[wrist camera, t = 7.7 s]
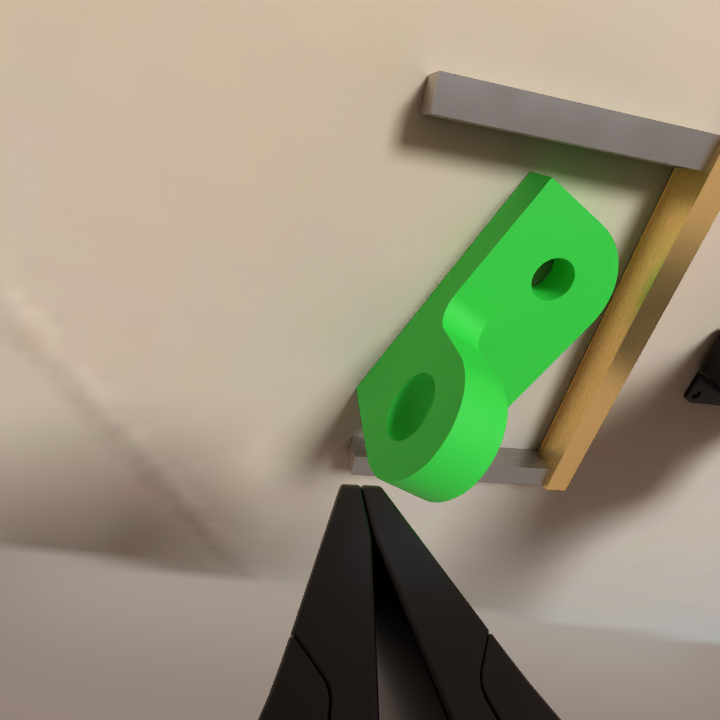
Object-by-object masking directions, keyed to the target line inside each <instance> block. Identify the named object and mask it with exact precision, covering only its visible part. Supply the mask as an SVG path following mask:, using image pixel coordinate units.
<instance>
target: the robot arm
mask: <svg viewBox="0 0 720 720" xmlns="http://www.w3.org/2000/svg"><path fill="white" fill-rule="evenodd" d="M696 391H698V392H697V394H696V395H694V396H692V394H693V393H694V392H696ZM684 398H685V399H686V400H687V401H689V402H692V403H702V404H712V405H720V338H719V340H718V341H717V343H716V345H715V346H714V348H713V349H712V351H711V352H710V354H709V356H708V357H707V359H706V360H705V362H704V363H703V365H702V367H701V368H700V370H699V371H698V373H697V374H696V376H695V377H694V379H693V381H692V382H691V384H690V385H689V387H688V388H687V390H686V392H685V394H684ZM488 633H489V631H488V629H487V628H486V626H485V625H484V623H483V622H482V621H481V619H480V618H479V617H478V615H477V614H476V613H475V611H474V610H473V609H472V607H471V606H470V605H469V603H468V602H467V601H466V599H465V598H464V597H463V595H462V594H461V593H460V591H459V590H458V589H457V587H456V586H455V585H454V583H453V582H452V581H451V579H450V578H449V577H448V575H447V574H446V573H445V571H444V570H443V569H442V567H441V566H440V565H439V563H438V562H437V561H436V559H435V558H434V557H433V555H432V554H431V553H430V551H429V550H428V549H427V547H426V546H425V545H424V543H423V542H422V541H421V539H420V538H419V537H418V535H417V534H416V533H415V531H414V530H413V529H412V527H411V526H410V525H409V523H408V522H407V521H406V519H405V518H404V517H403V515H402V514H401V513H400V511H399V510H398V509H397V507H396V506H395V505H394V503H393V502H392V501H391V499H390V498H389V497H388V495H387V494H386V493H385V491H384V490H383V489H382V488H381V487H379V486H369V485H363V486H361V488H360V486H359V485H349V484H342V485H341V486H340V488H339V491H338V494H337V497H336V500H335V503H334V506H333V509H332V512H331V515H330V518H329V521H328V524H327V527H326V530H325V533H324V536H323V539H322V542H321V545H320V548H319V551H318V554H317V557H316V560H315V563H314V566H313V569H312V572H311V575H310V578H309V581H308V584H307V587H306V590H305V593H304V596H303V599H302V602H301V605H300V608H299V611H298V614H297V617H296V620H295V623H294V626H293V629H292V632H291V636H290V638H289V640H288V643H287V646H286V649H285V652H284V655H283V658H282V661H281V663H280V666H279V669H278V672H277V674H276V677H275V680H274V682H273V685H272V688H271V690H270V693H269V696H268V698H267V700H266V703H265V705H264V707H263V709H262V712H261V714H260V716H259V719H258V720H561V719H560V718H559V717H558V716H557V714H556V713H555V712H554V711H553V710H552V709H551V708H550V706H549V705H548V704H547V703H546V702H545V701H544V699H543V698H542V697H541V696H540V695H539V694H538V692H537V691H536V690H535V689H534V688H533V686H532V685H531V684H530V683H529V681H528V680H527V679H526V678H525V676H524V675H523V674H522V673H521V671H520V670H519V669H518V668H517V666H516V665H515V664H514V662H513V661H512V660H511V659H510V657H509V656H508V655H507V654H506V652H505V651H504V650H503V648H502V647H501V646H500V644H499V643H498V642H497V640H496V639H495V638H494V636H493V635H492V634H488Z"/></svg>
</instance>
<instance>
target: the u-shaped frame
mask: <svg viewBox="0 0 720 720" xmlns="http://www.w3.org/2000/svg"><path fill="white" fill-rule="evenodd" d="M420 114H423V115H428V116H433V117H438V118H442V119H447V120H452V121H457V122H461V123H466V124H471V125H476V126H480V127H485V128H490V129H495V130H499V131H504V132H509V133H514V134H518V135H523V136H528V137H533V138H537V139H542V140H547V141H552V142H557V143H561V144H566V145H571V146H576V147H580V148H585V149H590V150H595V151H599V152H604V153H609V154H614V155H618V156H623V157H628V158H633V159H637V160H642V161H647V162H652V163H656V164H661V165H666V166H671V167H675V168H674V170H673V172H672V174H671V176H670V178H669V180H668V182H667V184H666V186H665V189H664V191H663V193H662V195H661V197H660V199H659V201H658V203H657V205H656V207H655V209H654V211H653V213H652V216H651V218H650V220H649V222H648V224H647V226H646V228H645V230H644V232H643V234H642V236H641V238H640V240H639V243H638V245H637V247H636V249H635V251H634V253H633V255H632V257H631V259H630V261H629V263H628V265H627V267H626V270H625V272H624V274H623V276H622V278H621V280H620V282H619V284H618V286H617V288H616V290H615V292H614V294H613V297H612V299H611V301H610V303H609V305H608V307H607V309H606V311H605V313H604V315H603V317H602V319H601V322H600V324H599V326H598V328H597V330H596V332H595V334H594V336H593V338H592V340H591V342H590V344H589V346H588V349H587V351H586V353H585V355H584V357H583V359H582V361H581V363H580V365H579V367H578V369H577V371H576V373H575V376H574V378H573V380H572V382H571V384H570V386H569V388H568V390H567V392H566V394H565V396H564V398H563V400H562V403H561V405H560V407H559V409H558V411H557V413H556V415H555V417H554V419H553V421H552V423H551V425H550V427H549V430H548V432H547V434H546V436H545V438H544V440H543V442H542V444H541V446H540V448H539V450H524V449H510V448H499V450H498V452H497V454H496V456H495V458H494V459H493V461H492V463H491V465H490V466H489V468H488V469H487V471H486V472H485V473H484V475H483V476H482V477H481V478H480V479H479V480H478V482H492V483H509V484H527V485H543V486H544V488H545V490H563V491H565V490H566V488H567V486H568V485H569V483H570V481H571V479H572V477H573V475H574V474H575V472H576V470H577V468H578V466H579V465H580V463H581V461H582V459H583V457H584V456H585V454H586V452H587V450H588V448H589V446H590V445H591V443H592V441H593V439H594V437H595V436H596V434H597V432H598V430H599V428H600V426H601V425H602V423H603V421H604V419H605V417H606V416H607V414H608V412H609V410H610V408H611V407H612V405H613V403H614V401H615V399H616V397H617V396H618V394H619V392H620V390H621V388H622V387H623V385H624V383H625V381H626V379H627V378H628V376H629V374H630V372H631V370H632V368H633V367H634V365H635V363H636V361H637V359H638V358H639V356H640V354H641V352H642V350H643V348H644V347H645V345H646V343H647V341H648V339H649V338H650V336H651V334H652V332H653V330H654V329H655V327H656V325H657V323H658V321H659V319H660V318H661V316H662V314H663V312H664V310H665V309H666V307H667V305H668V303H669V301H670V299H671V298H672V296H673V294H674V292H675V290H676V289H677V287H678V285H679V283H680V281H681V280H682V278H683V276H684V274H685V272H686V270H687V269H688V267H689V265H690V263H691V261H692V260H693V258H694V256H695V254H696V252H697V251H698V249H699V247H700V245H701V243H702V241H703V240H704V238H705V236H706V234H707V232H708V231H709V229H710V227H711V225H712V223H713V221H714V220H715V218H716V216H717V214H718V212H719V211H720V135H716V134H712V133H708V132H703V131H699V130H695V129H690V128H686V127H682V126H677V125H673V124H669V123H664V122H660V121H656V120H651V119H647V118H643V117H638V116H634V115H630V114H625V113H621V112H617V111H612V110H608V109H603V108H599V107H595V106H590V105H586V104H582V103H577V102H573V101H569V100H564V99H560V98H556V97H551V96H547V95H543V94H538V93H534V92H530V91H525V90H521V89H517V88H512V87H508V86H504V85H499V84H495V83H491V82H486V81H482V80H478V79H473V78H469V77H464V76H460V75H456V74H451V73H447V72H443V71H438V72H435V73H432V74H429V75H428V80H427V84H426V89H425V94H424V99H423V103H422V108H421V113H420ZM349 462H350V471H351V474H352V475H370V476H375V475H374V473H373V472H372V470H371V468H370V466H369V463H368V458H367V452H366V446H365V440H364V438H359V437H352V441H351V446H350V450H349Z"/></svg>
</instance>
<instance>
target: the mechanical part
mask: <svg viewBox="0 0 720 720" xmlns="http://www.w3.org/2000/svg"><path fill="white" fill-rule="evenodd" d="M551 259H553V267H552V270H551V272H550V273H549V275H548V276H547V277H546V278H545V279H544V280H543V281H542V282H540V283H538V284H536V285H533V286H531V284H532V278H533V276H534V274H535V272H536V270H537V269H538V268H539V267H540V266H541V265H542V264H543V263H545V262H546V261H548V260H551ZM618 264H619V262H618V253H617V248H616V245H615V242H614V240H613V238H612V236H611V235H610V233H609V232H608V230H607V229H606V228H605V227H604V226H603V225H602V224H601V223H600V222H599V221H598V220H597V219H596V218H595V217H593V216H592V215H591V214H590V213H589V212H588V211H587V210H586V209H585V208H584V207H583V206H582V205H581V204H580V203H579V202H578V201H577V200H576V199H574V198H573V197H572V196H571V195H570V194H569V193H568V192H567V191H566V190H565V189H564V188H563V187H562V186H561V185H560V184H559V183H558V182H557V181H555V180H554V179H553V178H552V177H549V176H545V175H541V174H537V173H533V172H529V174H528V175H527V176H526V177H525V179H524V180H523V181H522V182H521V184H520V185H519V186H518V187H517V189H516V190H515V191H514V192H513V194H512V195H511V196H510V197H509V199H508V200H507V201H506V202H505V204H504V205H503V206H502V207H501V209H500V210H499V211H498V212H497V214H496V215H495V216H494V217H493V219H492V220H491V221H490V222H489V223H488V225H487V226H486V227H485V228H484V230H483V231H482V232H481V233H480V235H479V236H478V237H477V238H476V240H475V241H474V242H473V243H472V245H471V246H470V247H469V248H468V250H467V251H466V252H465V253H464V255H463V256H462V257H461V258H460V260H459V261H458V262H457V263H456V265H455V266H454V267H453V268H452V270H451V271H450V272H449V273H448V275H447V276H446V277H445V278H444V279H443V281H442V282H441V283H440V284H439V286H438V287H437V288H436V289H435V291H434V292H433V293H432V294H431V296H430V297H429V298H428V299H427V301H426V302H425V303H424V304H423V306H422V307H421V308H420V309H419V311H418V312H417V313H416V314H415V316H414V317H413V318H412V319H411V321H410V322H409V323H408V324H407V326H406V327H405V328H404V329H403V331H402V332H401V333H400V334H399V335H398V337H397V338H396V339H395V340H394V342H393V343H392V344H391V345H390V347H389V348H388V349H387V350H386V352H385V353H384V354H383V355H382V357H381V358H380V359H379V360H378V362H377V363H376V364H375V365H374V367H373V368H372V369H371V370H370V372H369V373H368V374H367V375H366V377H365V378H364V379H363V380H362V382H361V383H360V384H359V385H358V386H357V388H356V392H357V398H358V404H359V410H360V416H361V422H362V428H363V434H364V440H365V446H366V452H367V458H368V463H369V466H370V468H371V470H372V472H373V473H374V475H375V476H376V477H377V478H379V479H381V480H383V481H385V482H387V483H389V484H391V485H393V486H396V487H398V488H400V489H402V490H404V491H406V492H409V493H411V494H413V495H415V496H417V497H419V498H422V499H424V500H426V501H430V502H445V501H448V500H451V499H454V498H456V497H458V496H460V495H462V494H463V493H465V492H466V491H468V490H469V489H470V488H471V487H472V486H474V485H475V484H476V483H477V482H478V480H479V479H480V478H481V477H482V476H483V475H484V473H485V472H486V471H487V469H488V468H489V466H490V465H491V463H492V461H493V459H494V458H495V456H496V454H497V452H498V450H499V447H500V445H501V442H502V439H503V436H504V432H505V428H506V423H507V413H508V407H509V406H510V405H511V404H512V403H513V402H514V401H515V400H516V399H517V398H518V397H519V396H520V395H521V394H522V393H523V392H524V391H525V390H526V389H527V388H528V387H529V386H530V385H531V384H532V383H533V382H534V381H535V380H536V379H537V378H538V377H539V376H540V375H541V374H542V373H543V372H544V371H545V370H546V369H547V368H548V367H549V366H550V365H551V364H552V363H553V362H554V361H555V360H556V359H557V358H558V357H559V356H560V355H561V354H562V353H563V352H564V351H565V350H566V349H567V348H568V347H569V346H570V345H571V344H572V343H573V342H574V341H575V340H576V339H577V338H578V337H579V336H580V335H581V334H582V333H583V332H584V331H585V330H586V329H587V328H588V327H589V326H590V325H591V324H592V323H593V322H594V321H595V320H596V318H597V317H598V316H599V315H600V313H601V312H602V311H603V309H604V308H605V306H606V305H607V303H608V301H609V299H610V297H611V295H612V293H613V290H614V287H615V284H616V280H617V276H618Z"/></svg>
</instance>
